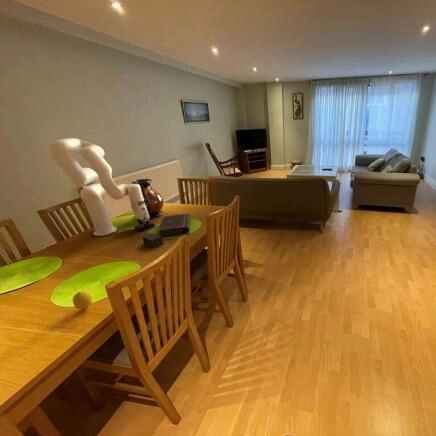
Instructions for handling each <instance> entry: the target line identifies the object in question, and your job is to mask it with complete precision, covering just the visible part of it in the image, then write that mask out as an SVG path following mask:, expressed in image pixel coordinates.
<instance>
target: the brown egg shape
mask: <svg viewBox="0 0 436 436" xmlns="http://www.w3.org/2000/svg"><path fill="white" fill-rule="evenodd" d="M72 303H73V306H74V307H75V308H76V309H78V310H86V309H88V308H89V307H90V306H91V305H92V303H93V297H92V295H91V294H90V293H89V292H88V291H84V290H83V291H78V292H76V293H75V294H74V295H73V298H72Z"/></svg>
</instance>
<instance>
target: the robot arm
mask: <svg viewBox="0 0 436 436" xmlns="http://www.w3.org/2000/svg"><path fill="white" fill-rule="evenodd" d="M48 152H49V155H50V157H51V158H52V160H53V161H54V162H55V163H56V164H57V165H58V167H59V168H60V169H61V170H62V172H63V173H64V174H65V175H66V177H67V178H68V179H69V180H70V182H71V183H72V184H74V185H75V186H78V187H81V186H85V187H83V188H82V190H81V191H80V195H79V196H80V198H81V200H82V201H83V203H84V205H85V207H86V209H87V211H88V215H89V217H90V220H91V222H92V225H93V228H94V230H95V231H94V232H93V235H94V236H95V237H104V236H109V235H110V234H113V233H115V232H117V229H118V228H117V227H116V226H113V223H112V220H111V217H110V212H109V211H108V208H107V205H106V203H105V202H104V200H103V198H104V197H105V196H106V195H108V196H109V197H110V198H112V199H114V200H121V199H123V198H125V197H126V196H128V198H129V201H130V206H131V205H132V207H133V209H132V211H133V214H134V217H135V218H136V222H137V223H138V224H137V225H140V224H143V223H144V227H145V229H146V230H149V229H151V228H150V225H149V222H150V219H149V214H148V211H147V208H146V206H145V205H144V204H145V203H144V199H143V195H142V192H141V188H140V185H139V184H132V183H129V184H126V183H121V184H116V182H115V181H114V179H113V178H112V177H113V176H112V174H113V173H112V172H113V167H111V165H110V164H109V163H108V161H106V159H105V158H104V157H105V155H106V153H105V150H104V149H103V148H102V147H101V146H99V145H97V144H94V143H92V142H89V141H85V140H83V139H79V138H76V137H68V138H59V139H56V140H53V142H51V143H50V145H49V149H48ZM72 154H80V156H81V158H82V160H84V161H85V162H86V164H87V165H88V166H89V167H82V166H81V165H80V163H79V162H78V161H77V160H76V159H75V158H74V157H73V156H71V155H72ZM132 207H131V208H132ZM144 218H146V219H144ZM148 228H149V229H148Z"/></svg>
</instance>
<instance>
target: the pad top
mask: <svg viewBox="0 0 436 436" xmlns="http://www.w3.org/2000/svg"><path fill="white" fill-rule="evenodd" d="M149 225H150V228H148V229H145V227H144V223H143V224H140V225H139V224H137V225H134V226H133V227H134V230H135V231H137V232H140V233H141V232H143V231H146V230H149V229H152V228H154V227H155V223H154V222H152V221H149Z"/></svg>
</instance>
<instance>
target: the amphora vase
mask: <svg viewBox="0 0 436 436" xmlns="http://www.w3.org/2000/svg"><path fill="white" fill-rule="evenodd" d="M152 181H153V180H152V178H151V179H150V178H139V179H136V180H135V179H134V180H133V181H131V184H139V185H140V188H141V192H142V195H143V199H144V203H145V204H144V205H145V206H146V208H147V211H148V214H149V220H153V219H156V218H159V217H160V216H162V215H163V211H162V210H163V208H164V205H165V203H164V199H163V197H162V195H161V194H160V192H158V191H157V190H156V189H154V188H153V187H152V186H151V183H152ZM130 207H131V209H132V210H133V207H132V205H131V204H130ZM144 219H146V218H144Z"/></svg>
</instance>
